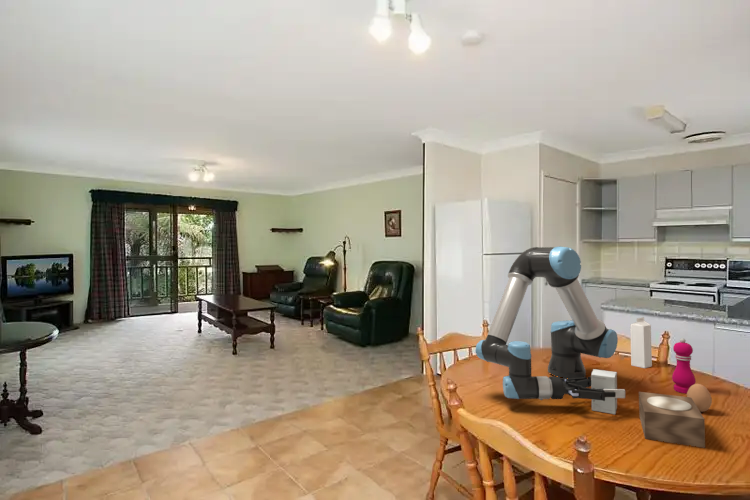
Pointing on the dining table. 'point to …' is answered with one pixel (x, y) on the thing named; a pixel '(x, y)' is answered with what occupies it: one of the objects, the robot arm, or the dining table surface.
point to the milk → (641, 344)
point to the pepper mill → (683, 367)
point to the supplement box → (604, 381)
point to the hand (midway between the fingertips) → (617, 388)
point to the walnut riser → (671, 419)
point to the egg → (700, 397)
